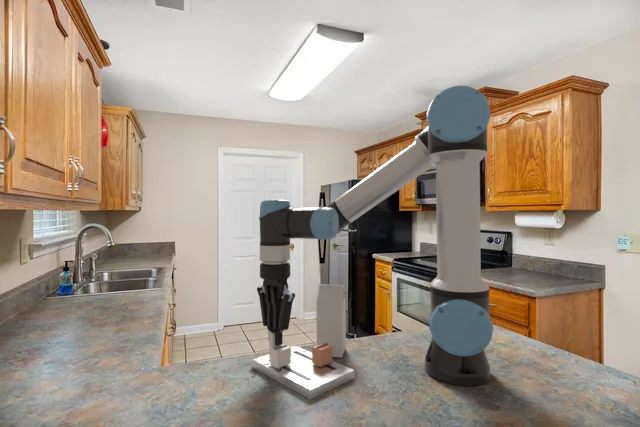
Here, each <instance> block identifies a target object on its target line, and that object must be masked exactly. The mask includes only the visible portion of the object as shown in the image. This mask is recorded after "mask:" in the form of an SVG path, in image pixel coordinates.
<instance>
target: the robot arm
mask: <svg viewBox="0 0 640 427" xmlns="http://www.w3.org/2000/svg"><path fill="white" fill-rule="evenodd" d="M490 118H491V109H490V103H489V101H488V100H487V98H486V96H485V95H484V94H483V93H482V92H481V91H479V90H478V89H476V88H475V87H472V86H469V85H468V86H467V85H454V86H450V87H448V88H446V89H443V90H442V91H440V92H439V93H438V94H437V95H436V96H434V98H433V99H432V100H431V102H430V104H429V106H428V109H427V112H426V119H425V120H426V125H427V126H426V127H425V128H424V129H423V130H422V131H421V132H420V133H418V134H417V135H416V136H414V141H413V143H412V144H410V145H408V146H407V147H406V148H404V149H403V150H401V151H400V152H399V153H398V154H396V155H395V156H394V157H392V158H391V159H389V160H388V161H387V162H386V163H384V164H382V165H381V166H380V167H378V168H377V169H376V170H374V171H373V172H372V173H370V174H369V175H367V176H366V177H365V178H364V179H362V180H360V181H359V182H358V183H356V184H355V185H354V186H353V187H351V188H349V189H348V190H347V191H346V192H344V193H342V194H341V195H340V196H338V197H337V198H336V199H335V200H333V201H332V202H330V203H329V204H328V205H326V206H319V207H291V206H292V205H291V203H290V201H289V200H288V199H287V200H286V199H265V200H262V201H261V202H260V204H259V218H258V219H259V261H260V264H259V277H260V279H262V280H263V282H262V285H261V286H258V287H257V288H256V291H257V294H258V298H259V304H260V305H259V306H260V311H261V313H260V314H261V319H262V320H261V321H262V325H263V326H264V327H266V329H267V331H268V343H269V344H268V346H269V348H268V349H269V350H268V354H269V357H270V348H273V347H276V346H279V345H282V344H283V332H284V331H287V330H289V326H290V321H291V320H290V319H291V314H292V308H293V302H294V299H295V298H296V293H295V292H291V291H290V290H289V285H288V284H289V283H288V279H289V278H290V277H291V262H289V261H290V260H291V239H307V240H318V241H319V240H320V241H322V240H332V239H334V238H336V237H337V235H338V234H339V233H341V232H342V231H343V230H344V229H345V228H346V227H348V225H350V224H351V223H353V222H354V221H355V220H357V219H359V218H360V217H361V216H363V215H364V214H366V213H367V212H368V211H370V210H371V209H373V208H374V207H375V206H378V205H379V204H380V203H382V202H383V201H384V200H386V199H387V198H389V197H390V196H392V195H393V194H395V193H396V192H398V191H399V190H400V189H402V188H403V187H405V186H406V185H408V184H409V183H410V182H412V181H413V180H415V179H416V178H418V177H419V176H420V175H423V174H424V173H425V172H427V171H428V170H430V169H431V168H435V186H436V187H435V197H436V200H435V201H436V202H435V204H436V270H437V271H436V272H437V274H436V277H435V278H433V279H432V281H431V282H430V284H429V294H430V295H429V300H430V301H429V304H430V305H429V306H430V307H429V309H430V310H429V311H430V312H429V313H430V314H429V315H430V316H429V320H428V327H429V331H430V334H431V339H430V342H429V345H428V348H427V351H426V354H425V357H424V370H425V372H426V373H427V374H428V375H429V376H430V377H432V378H434V379H436V380H439V381H441V382H444V383H447V384H451V385H458V386H466V387H467V386H468V387H470V386H479V385H483V384H486V383H487V382H489V381H490V379H491V366H490V363H489V360H488V357H487V354H486V351H485V350H486V348H487V347H488V346H489V345H490V343H491V341H492V338H493V334H494V324H493V322H492V321H493V320H492V318H491V316H490V315H491V314H490V312H491V311H490V286H489V285H488V284H487V283H486V282H485V281H484V280H483V278H482V270H481V269H482V268H481V267H482V266H481V265H482V264H481V262H482V261H481V260H482V258H481V193H480V192H481V191H480V190H481V189H480V188H481V186H480V184H481V183H480V181H481V180H480V163H481V161H482V160H483V159H484V158H485V157H486V156H487V155H488V126H489V125H488V124H489V122H490Z"/></svg>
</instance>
